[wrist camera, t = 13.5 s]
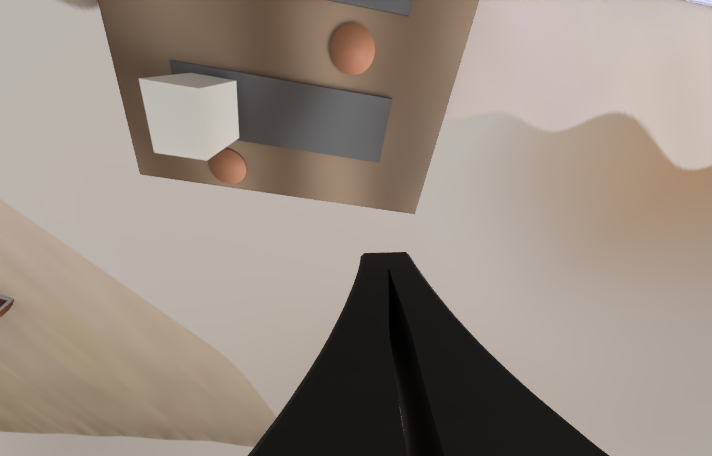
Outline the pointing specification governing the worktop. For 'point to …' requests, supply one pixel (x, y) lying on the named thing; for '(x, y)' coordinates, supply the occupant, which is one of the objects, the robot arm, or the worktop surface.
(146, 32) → the switch board
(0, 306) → the food container
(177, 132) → the knob
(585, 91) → the worktop surface
